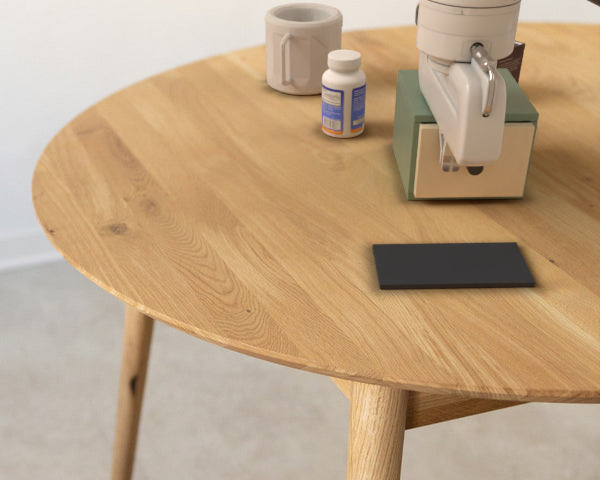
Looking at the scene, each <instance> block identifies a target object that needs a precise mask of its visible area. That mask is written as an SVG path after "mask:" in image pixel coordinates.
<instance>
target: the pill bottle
mask: <svg viewBox="0 0 600 480" xmlns="http://www.w3.org/2000/svg"><path fill="white" fill-rule="evenodd" d="M327 64H328V67H329V68H330V69H328V70H326V71H325V72H324V74H323V76H322V93H321V130H322V132H323V133H324V134H325V135H326V136H329V137H332V138H337V139H349V138H354V137H358V136H360V135H361V134H362V133H363V132H364V130H365V118H366V117H365V116H366V95H367V93H366V92H367V75H366V74H365V72H364V71H363V70H362V69H360V68H361V66H362V54H361V53H360V52H359V51H356V50H353V49H345V48H343V49H342V48H341V50H335V51H332V52H330V53H329V54H328V63H327Z"/></svg>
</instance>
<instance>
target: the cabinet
mask: <svg viewBox="0 0 600 480" xmlns="http://www.w3.org/2000/svg"><path fill="white" fill-rule="evenodd" d="M497 71H498V72H499V73H500V74H501V76H502V77H503V79H504V81H505V85H506V111H505V121H521V123H532V124H533V125H534V127H535V130H534V135H533V141H532V146H531V152H530V157H529V163H528V168H527V174H526V179H525V185H524V190H523V196H516V197H442V198H415V196H414V182H415V171H416V160H417V149H418V138H419V127H420V124H422V123H421V122H436V120H435V118H434V116H433V114H432V112H431V110H430V108H429V106H428V104H427V102H426V100H425V98H424V96H423V94H422V92H421V90H420V85H419V68H418V69H417V68H416V69H397V77H396V88H395V90H396V91H395V101H394V102H395V104H394V119H393V131H392V132H393V133H392V147H391V148H392V150H393V155H394V158H395V161H396V165H397V168H398V172H399V175H400V178H401V182H402V186H403V189H404V193H405V196H406V200H407V201H429V200H430V201H437V200H439V201H440V200H441V201H442V200H443V201H444V200H501V199H502V200H511V199H514V200H515V199H516V200H517V199H519V200H520V199H524V198H525V193H526V188H527V182H528V177H529V172H530V166H531V161H532V156H533V151H534V145H535V138H536V133H537V129H538V121H539V116H540V113H539V112H538V110H537V108H536V107H535V106H534V104H533V103H532V102H531V99H529V98H528V95H526V93H525V92H524V90H523V89H522V87H521V86H520V85H519V82H518V83H517V82H516V81H515V79H514V78H513V76H512V75H511V74H510V72H509V71H508V69H497Z"/></svg>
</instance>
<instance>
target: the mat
mask: <svg viewBox="0 0 600 480" xmlns="http://www.w3.org/2000/svg"><path fill="white" fill-rule="evenodd" d="M371 246H372V253H373V259H374V265H375V271H376V276H377V281H378V286H379V289H380V290H406V289H407V290H410V289H469V288H470V289H473V288H476V289H477V288H478V289H479V288H524V287H525V288H535V287H536V280H535V278H534V276H533V273H532V272H531V270H530V268H529V266H528V264H527V261H526V259H525V257H524V255H523V253H522V251H521V249H520V246H519V244H518V242H516V241H507V242H504V241H503V242H502V241H501V242H498V241H497V242H438V243H436V242H435V243H380V244H379V243H373V244H372V245H371Z"/></svg>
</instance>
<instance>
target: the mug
mask: <svg viewBox="0 0 600 480" xmlns="http://www.w3.org/2000/svg"><path fill="white" fill-rule="evenodd" d="M343 21H344V16H343V13H342V11H341V10H339V9H338V8H336V7H333V6H332V5H327V4H323V3H315V2H293V3H285V4H280V5H277V6H275V7H272V8H270V9H269V10H267V11H266V13H265V15H264V29H265V31H264V32H265V64H266V65H265V67H266V68H265V69H266V71H265V73H266V82H267V84H268V85H269V87H271V88H272V89H273V90H275V91H277V92H280V93H283V94H288V95H294V96H295V95H296V96H311V95H312V96H313V95H319V94H322V76H323V74H324V72H325V71H326V70H328V69H330V68H329V67H328V64H327V63H328V54H329V53H330V52H332V51H335V50H342V35H343V27H344V26H343V25H344V24H343V23H344V22H343Z"/></svg>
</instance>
